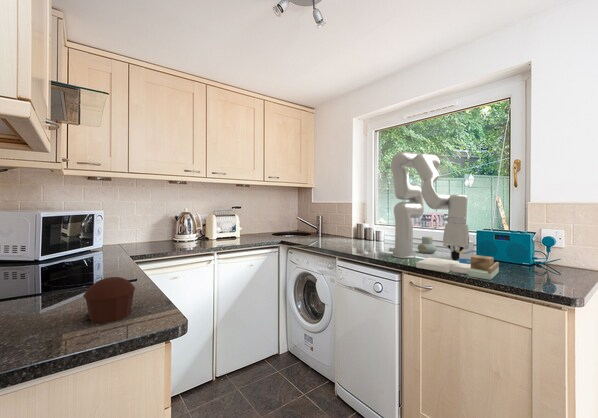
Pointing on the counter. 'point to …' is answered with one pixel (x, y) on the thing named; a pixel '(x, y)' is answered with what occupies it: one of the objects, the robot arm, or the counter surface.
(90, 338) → the counter surface
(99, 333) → the counter surface
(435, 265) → the platform
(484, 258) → the walnut block
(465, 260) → the ink box
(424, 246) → the air freshener
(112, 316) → the muffin
